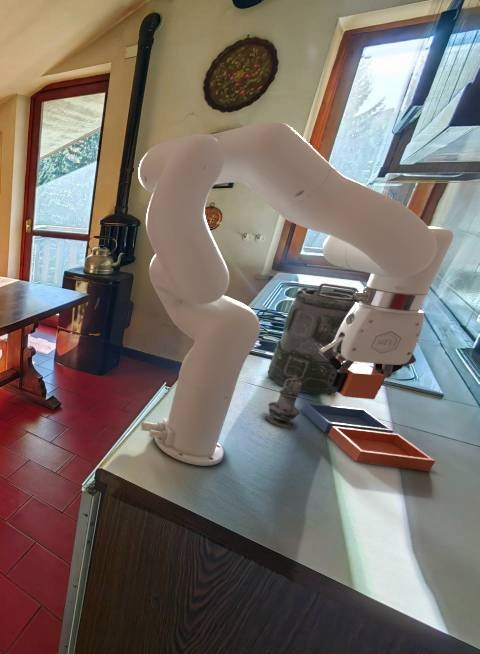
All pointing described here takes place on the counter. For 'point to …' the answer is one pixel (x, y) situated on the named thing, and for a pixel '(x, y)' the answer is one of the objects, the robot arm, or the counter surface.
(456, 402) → the counter surface
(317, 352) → the canister
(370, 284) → the robot arm
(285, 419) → the dark chess piece
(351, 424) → the blue tray
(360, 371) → the terracotta block
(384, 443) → the terracotta tray
